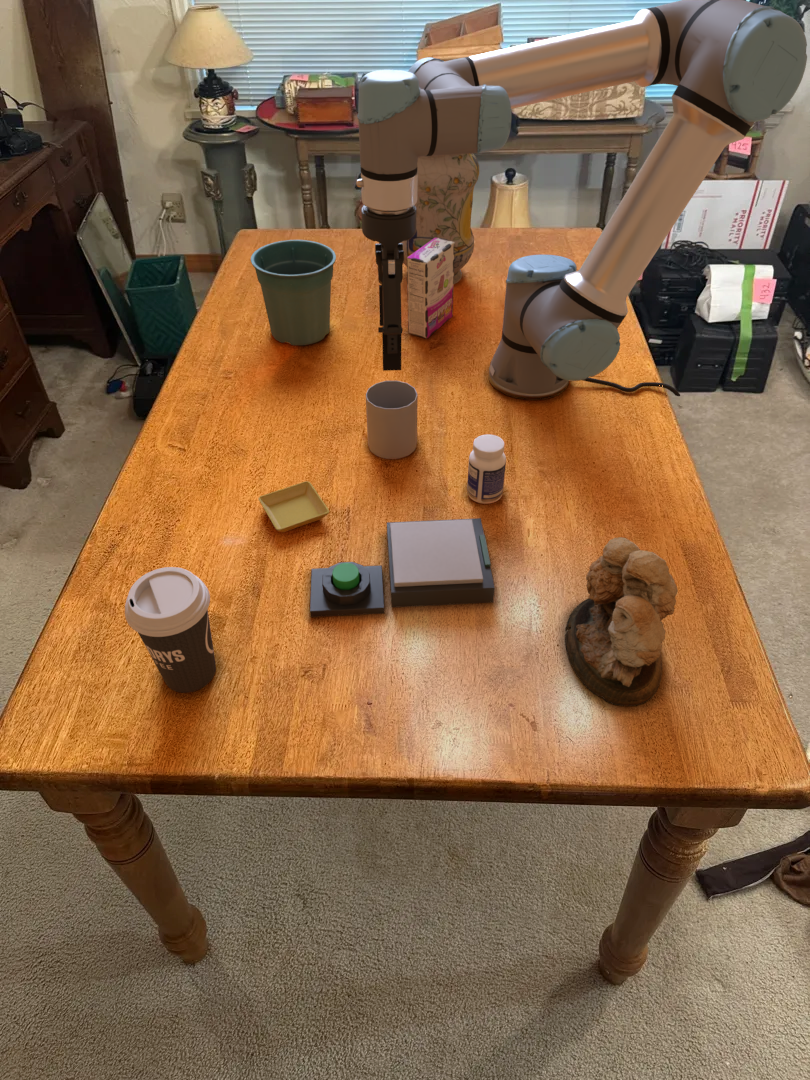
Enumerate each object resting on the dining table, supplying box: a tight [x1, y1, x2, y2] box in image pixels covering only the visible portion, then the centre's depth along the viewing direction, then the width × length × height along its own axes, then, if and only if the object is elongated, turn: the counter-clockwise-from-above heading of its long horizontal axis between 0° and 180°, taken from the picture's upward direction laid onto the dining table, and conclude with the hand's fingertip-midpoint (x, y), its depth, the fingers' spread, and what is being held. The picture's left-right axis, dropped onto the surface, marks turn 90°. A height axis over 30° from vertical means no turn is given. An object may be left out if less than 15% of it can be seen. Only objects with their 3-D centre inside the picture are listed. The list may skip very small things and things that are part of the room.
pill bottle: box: [466, 433, 507, 505], centre depth 118 cm, size 6×6×10 cm
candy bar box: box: [406, 238, 455, 339], centre depth 155 cm, size 11×5×16 cm, turn 148°
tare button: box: [332, 563, 359, 590], centre depth 103 cm, size 4×4×2 cm
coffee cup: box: [124, 566, 217, 694], centre depth 91 cm, size 10×10×15 cm
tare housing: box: [309, 561, 385, 618], centre depth 105 cm, size 10×8×3 cm
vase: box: [401, 153, 480, 285], centre depth 167 cm, size 18×18×30 cm
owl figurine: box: [564, 536, 679, 707], centre depth 93 cm, size 18×12×17 cm, turn 6°
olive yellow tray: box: [258, 480, 330, 533], centre depth 117 cm, size 9×9×2 cm
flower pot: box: [250, 239, 337, 346], centre depth 153 cm, size 16×16×16 cm
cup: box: [365, 380, 419, 460], centre depth 127 cm, size 8×8×10 cm
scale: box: [386, 517, 496, 608], centre depth 108 cm, size 14×14×4 cm
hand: (390, 346), depth 117 cm, fingers open, 13 cm apart
